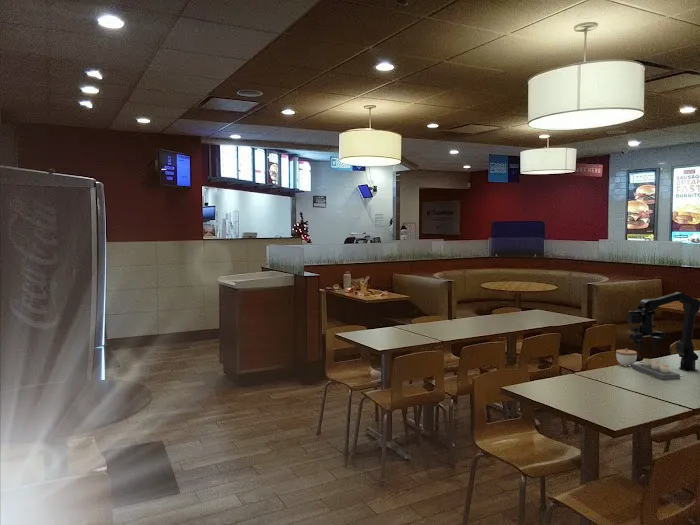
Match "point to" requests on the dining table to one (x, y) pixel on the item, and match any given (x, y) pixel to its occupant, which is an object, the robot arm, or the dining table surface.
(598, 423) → the dining table surface
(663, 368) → the button
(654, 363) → the button
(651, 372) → the board
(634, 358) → the lidded jar
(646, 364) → the button
